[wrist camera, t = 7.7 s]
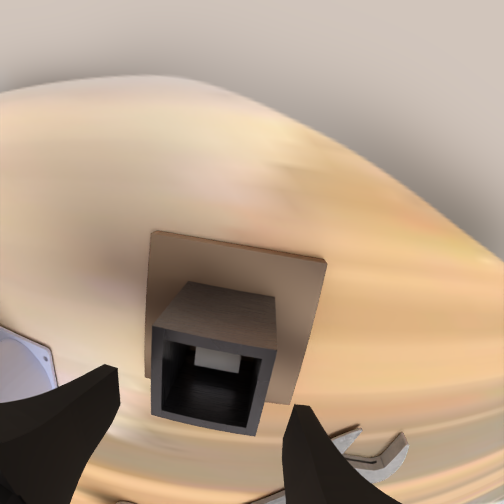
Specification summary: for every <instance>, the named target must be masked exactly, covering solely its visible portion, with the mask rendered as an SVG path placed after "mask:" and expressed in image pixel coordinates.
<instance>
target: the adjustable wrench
mask: <svg viewBox="0 0 504 504" xmlns="http://www.w3.org/2000/svg"><path fill="white" fill-rule="evenodd" d="M362 431H363V430H362V428H357V429H355V430H352V431H349V432H347V433H344V434H342V435H339V436H337V437H334V438H332V439H331V440H332V442H333V443H334V445H335V446H336V447H337V449H338V450H339V451H340V453H341V454H342V455H343V456H344V457H345V459H346V460H347V461H348V462H349V463H350V464H351V465H352V466H353V467H354V468H355V469H356V470H357V471H358V472H359V473H360V474H361V475H362V476H363V477H364V478H365V479H366V480H368V481H369V482H370V483H371V484H372V483H377V482H380V481H383V480H385V479H386V478H388V477H389V476H391V475H392V474H393V473H395V472H396V471H397V470H398V468H399V467H400V466H401V465H402V463H403V461H404V460H405V457H406V455H407V452H408V448H409V444H408V442H407V440H406V437H405V435H404V433H403V432H401V433H400V434H399V436H398V437H397V438H396V439H395V440H394V441H393V442H392V443H391V445H390V446H389V447H388V448H387V449H386V450H385V451H384V452H383V453H382V454H381V455H380V456H377V457H373V458H365V457H359V456H353V455H347V454H343V453H344V452H345V451H346V449H347V448H348V447H349V446H350V445H351V444H352V443H353V441H354V440H355V439H356V438H357V437H358V436H359V434H360V433H361V432H362ZM250 504H286V498H285V490H283V491H281V492H279V493H276V494H274V495H271V496H269V497H266V498H264V499H261V500H259V501H256V502H253V503H250Z"/></svg>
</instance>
